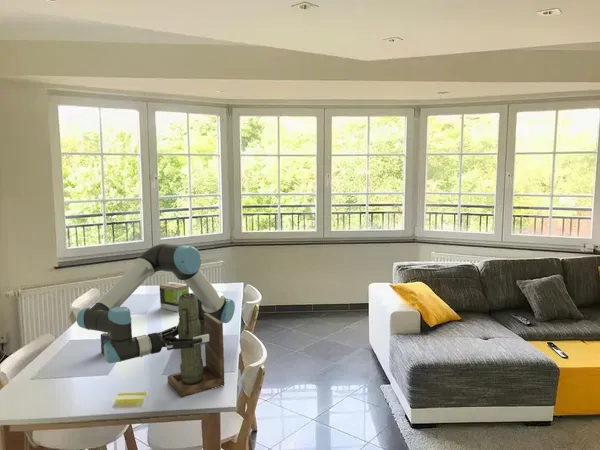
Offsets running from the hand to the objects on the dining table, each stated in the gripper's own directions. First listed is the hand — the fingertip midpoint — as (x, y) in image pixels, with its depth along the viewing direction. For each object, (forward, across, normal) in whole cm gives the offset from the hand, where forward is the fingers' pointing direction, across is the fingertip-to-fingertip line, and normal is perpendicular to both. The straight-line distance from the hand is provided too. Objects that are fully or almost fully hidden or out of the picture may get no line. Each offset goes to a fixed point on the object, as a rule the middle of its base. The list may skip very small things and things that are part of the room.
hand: (202, 332), depth 193 cm
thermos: (-4, -2, -19) cm, 20 cm away
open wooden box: (-3, 0, -21) cm, 21 cm away
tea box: (+24, -99, -21) cm, 104 cm away
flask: (-24, -52, -21) cm, 61 cm away
